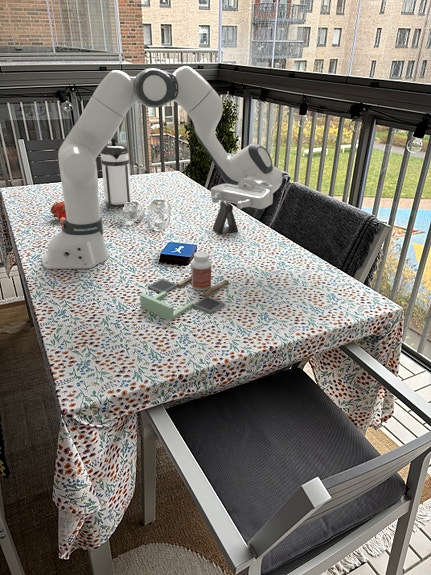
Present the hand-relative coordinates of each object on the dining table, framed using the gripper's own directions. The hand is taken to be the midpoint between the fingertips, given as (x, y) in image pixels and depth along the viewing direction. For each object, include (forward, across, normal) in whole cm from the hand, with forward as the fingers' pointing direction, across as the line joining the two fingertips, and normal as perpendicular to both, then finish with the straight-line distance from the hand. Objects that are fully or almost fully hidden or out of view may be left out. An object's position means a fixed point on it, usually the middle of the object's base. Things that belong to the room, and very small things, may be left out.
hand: (225, 203), depth 139 cm
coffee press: (-25, -82, +24) cm, 89 cm away
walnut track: (+13, 0, +23) cm, 27 cm away
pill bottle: (+14, 0, +23) cm, 27 cm away
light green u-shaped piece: (+30, 0, +22) cm, 37 cm away
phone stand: (-30, -23, +26) cm, 46 cm away
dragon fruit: (+4, -82, +22) cm, 85 cm away
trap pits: (+21, 0, +22) cm, 31 cm away
